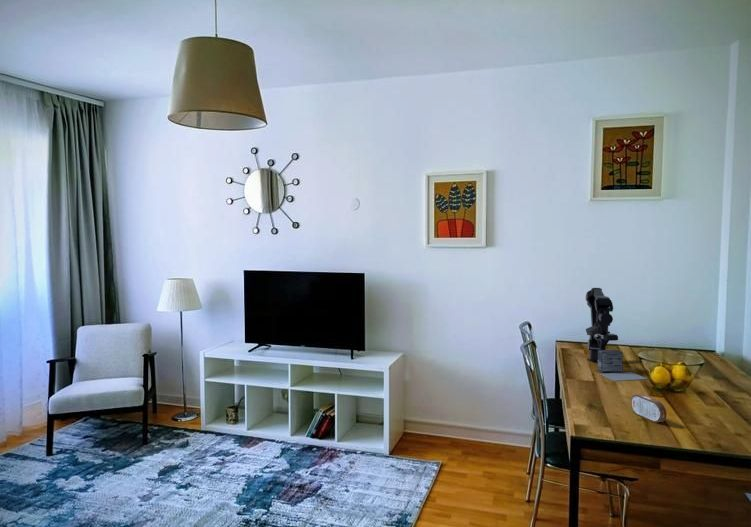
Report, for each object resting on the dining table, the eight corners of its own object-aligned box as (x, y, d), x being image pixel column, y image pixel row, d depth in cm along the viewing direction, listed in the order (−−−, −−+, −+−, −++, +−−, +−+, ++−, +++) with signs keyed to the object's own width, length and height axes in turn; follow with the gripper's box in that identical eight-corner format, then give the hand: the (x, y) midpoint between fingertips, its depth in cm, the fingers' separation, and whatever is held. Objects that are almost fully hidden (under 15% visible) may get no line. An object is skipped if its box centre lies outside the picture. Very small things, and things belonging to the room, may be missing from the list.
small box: (618, 369, 263) (618, 349, 263) (623, 372, 257) (623, 352, 256) (597, 369, 264) (597, 349, 264) (601, 372, 258) (601, 351, 257)
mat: (598, 374, 255) (599, 373, 255) (630, 372, 258) (630, 372, 258) (614, 381, 243) (614, 380, 243) (647, 379, 246) (647, 378, 246)
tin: (666, 425, 188) (667, 402, 187) (660, 426, 187) (660, 403, 186) (635, 411, 202) (636, 390, 202) (628, 412, 201) (629, 391, 201)
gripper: (578, 318, 274) (577, 347, 275) (599, 324, 256) (598, 355, 256) (596, 318, 276) (596, 346, 277) (619, 324, 258) (618, 354, 258)
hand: (601, 350), depth 267 cm, fingers closed
